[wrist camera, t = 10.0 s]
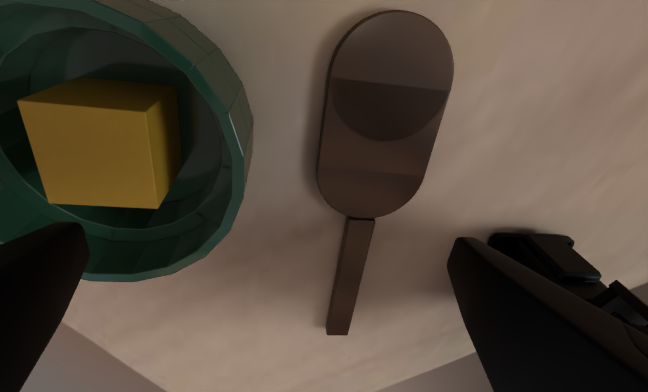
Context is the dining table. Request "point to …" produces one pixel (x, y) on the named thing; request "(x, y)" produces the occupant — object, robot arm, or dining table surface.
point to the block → (105, 141)
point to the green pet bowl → (133, 66)
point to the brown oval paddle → (378, 132)
